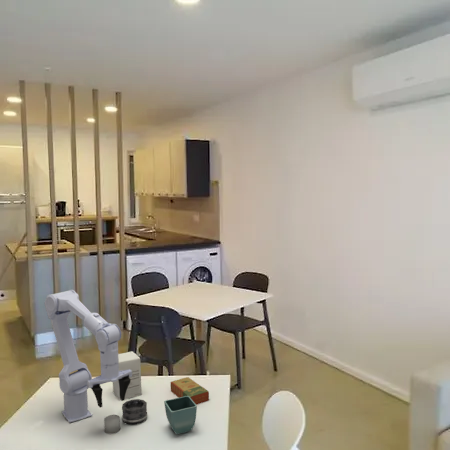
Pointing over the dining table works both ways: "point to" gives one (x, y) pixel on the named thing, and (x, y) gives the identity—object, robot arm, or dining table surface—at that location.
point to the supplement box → (134, 388)
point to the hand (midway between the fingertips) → (111, 402)
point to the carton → (189, 390)
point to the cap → (112, 424)
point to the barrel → (134, 412)
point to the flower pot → (181, 414)
